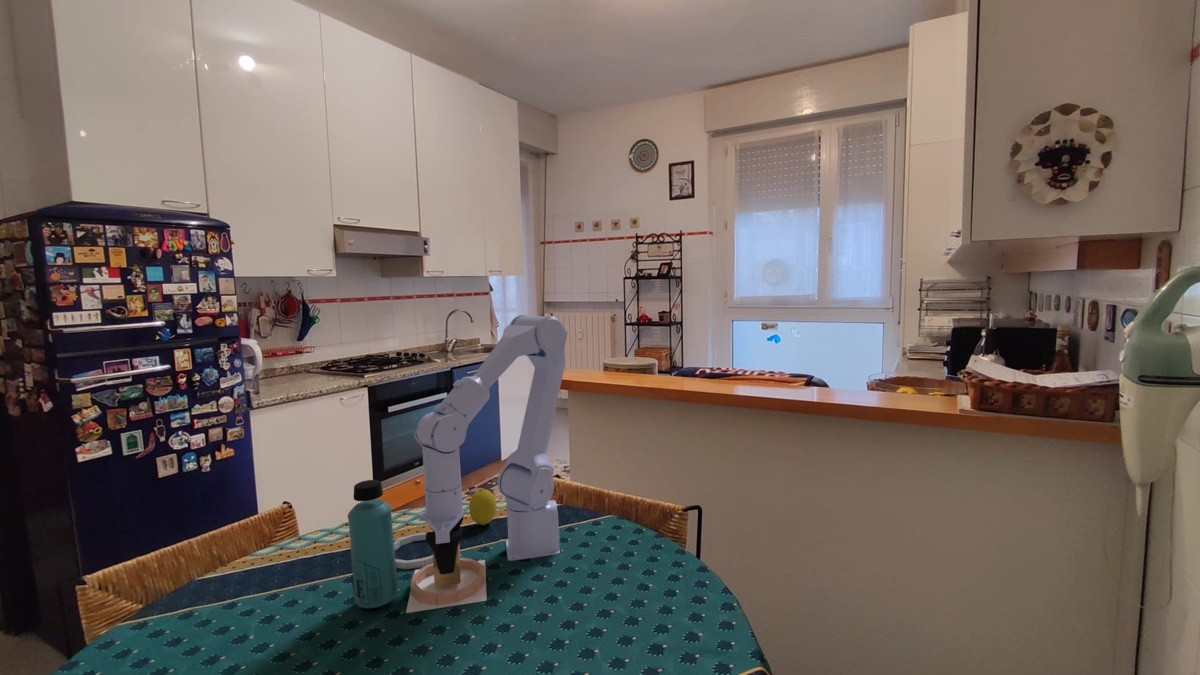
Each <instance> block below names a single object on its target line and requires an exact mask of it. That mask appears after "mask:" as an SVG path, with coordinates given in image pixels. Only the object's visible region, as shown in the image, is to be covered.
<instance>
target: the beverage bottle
mask: <svg viewBox="0 0 1200 675" xmlns="http://www.w3.org/2000/svg"><path fill="white" fill-rule="evenodd" d="M383 495H384V491H383V487H382V481H381V480H377V479H368V480H362V481H360V482H358V483H355V485H354V486H353V500H354V501H357V502H358V503H357V504H355V505H354V506H353V507H352V508H351V510H349V512H348V514H347V520H348V528H349V541H350V542H349V548H350V554H351V556H350V558H351V560H350V563H351V578H352V579H351V580H352V581H351V582H352V592H353V599H354V602H355V603H356V605H357V606H358V607H360V608H363V609H374V608H379V607H382V606H385V605H386V604H389V603H391V601H393V600H394V599H395V597H396V596H397V593H398V589H399V580H398V576H399V575H398V568H397V563H396V562H395V560H396V559H397V558H396V551H397V549H396V548H395V549H396V550H395V549H394V542H395V540H394V531H393V530H394V529H393V517H392V506H391V504H390V503H388V502H386V501H385V500H383V499H380V498H381V497H382V496H383Z"/></svg>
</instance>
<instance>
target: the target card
mask: <svg viewBox="0 0 1200 675" xmlns="http://www.w3.org/2000/svg"><path fill="white" fill-rule="evenodd" d="M477 561H478V562H479V563H481V564H482V565H483V566H484V577H485V584H484V585H483V586H482V587H481V588H480V589H479V591H478V592H477V593H476V594H474V595H472V596H470V597H468V598H466V599H464V600H461V601H459V602H456V603H450V604H443V605H431V604H425V603H420V602H418V601H417V600H416V599H415V598H414V597H413V596H412V595H411V590H410V593H409V597H408V602H407V606H406V610H405V614H409V613H417V612H422V611H428V610H434V609H440V608H441V609H442V608H447V607H448V608H449V607H454V606H459V605H467V604H474V603H480V602H486V601H487V599H488V598H487V580H486V579H487V578H486V577H487V576H486V572H487V571H486V560H485V559H483V560H477ZM420 569H421V568H418V569H417V568H416V569H414V573H413V575H414V574H416V573H417V572H418V571H419V570H420ZM478 576H479V575H478V574H477V573H475V572H474V571H473V570H469V569H462V568H461V580H460V583H459V584H452V585H445V586H438V587H435V583H434V574H432V575H429V576H427V577H426V578H425V579H424V580H423V581H421V582H420V583H419V584H418V587H419V588H420V589H422V590H423V591H427V592H433V593H443V592H450V591H456V590H458V589H460V588H463V587H465V586H467V585H469V584H471V583H472V582H473V581H474V580H475V579H476V578H477V577H478Z"/></svg>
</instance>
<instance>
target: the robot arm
mask: <svg viewBox="0 0 1200 675" xmlns="http://www.w3.org/2000/svg"><path fill="white" fill-rule="evenodd" d="M510 321H511V322H510V323H509V324H508V325H507V326H506V327H504V329H503V333H502V337H501V338H500V340H499V341H498V342H497V344H496V345H495V346H494V348H493V349H492V350H491V351H490V353H489V354H488V355H487V357H486V358H485V360H484V361H483V362H482V363H481V365H480V367H479V368H478V369H477V370H476V371H475V373H474V374H473V375H472V376H464V377H462V378H461V379H457V380H455V382H453V384H452V386H453V388H452V390H451V391H450V392H449V393H447V396H445V398H444V399H443V400H442V401H441V402H440V403H437V405H436V406H434V411H432V412H430V413H426V414H425V415H424V416H423V417H421V419H420V420H419V421H418V423H417V428H416V430H415V431H413V435H414V438H415V440H416V441H417V443H418V444H419V445H420V446H421V449H422V450H421V451H422V460H423V461H422V463H423V464H422V465H423V478H424V479H423V481H424V495H425V496H424V497H425V511H423V512H420V513H419V514H418V521H419V522H426V523H427V524H428V525H429V526H430V528H431V529H432V531H426V532H425V533H426V540H425V541H426V543H427V544H428V546H429V548H430V549H431V551H432V554H433V553H434V555H435V558H436V562H437V566H438V569H439V572H440V574H448V573H453V572H454V569H455V562H456V552H457V548H458V545H460V542H461V540H462V537H463V534H464V533H463V532H464V530H463V529H461V525H462V523H463V521H464V516H465V508H464V507H463V493H462V490H463V489H462V476H461V472H462V471H461V457H460V446H461V445H463V444H464V443H465V440H466V437H467V430H468V428H469V424H470V423H471V422H472V420H474V418H475V417H476V415H477V414H479V412H480V411H481V409H482V408H483V407H484V406H485V405H486V404H487V402H488V401H489V400H490V388H491V387H492V386H493V385H494V384H495V383H496V381H497V380H499V378H500V377H501V376H502V375H503V374H504V373H505V372H506V371H507V369H508V368H509V367H511V366H512V364H513V363H514V362H515V361H516V360H517V359H518V358H519V357H522V356H526V357H527V358H528V360H529V361H530V362H531V364H532V366H533V367H534V370H533V376H532V380H531V385H530V389H529V394H528V399H527V403H526V407H525V413H524V415H523V416H524V417H523V421H522V426H521V430H520V436H519V439H518V443H517V448H516V450H515V451H513V452H511V453H510V454H509V455H508V456H507V457H506V462H505V465H504V467H502V470H501V471H500V474H499V476H498V479H497V487H498V491H499V492H500V494H501V495H502V496H504V503H506V513H507V514H506V517H507V519H506V520H507V537H508V539H506V540H505V546H506V547H505V548H506V554H507V555H506V557H507V561H508V562H511V561H512V562H513V561H519V560H526V559H531V558H539V557H540V558H541V557H548V556H554V555H560V554H561V551H560V529H559V513H558V507H557V506H558V505H557V502H556V500H554V499H551V498H552V496H553V494H554V489H555V488H554V479H553V478H554V477H553V476H554V470H555V468H554V466H553V464H552V463H551V461H550V459H549V457H548V456H547V452H548V446H549V443H550V438H551V433H552V432H551V431H552V428H553V423H554V418H555V414H556V409H557V404H558V400H559V396H560V395H559V394H560V391H561V390H560V389H561V385H562V380H563V375H564V371H565V366H566V365H565V364H566V356H565V348H566V343H567V338H568V332H567V330H566V328H565V326H564V324H563V323H562V321H561V320H560V319H559V318H558V317H557V316H555V315H547V316H545V315H544V316H537V315H536V316H535V315H524V314H520V315H517V316H515V317H514V318H512V320H510Z"/></svg>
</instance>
